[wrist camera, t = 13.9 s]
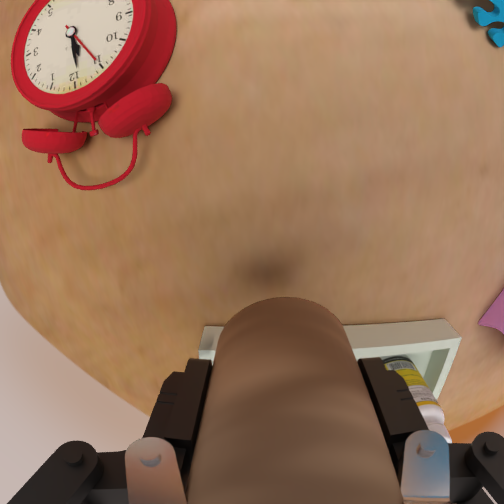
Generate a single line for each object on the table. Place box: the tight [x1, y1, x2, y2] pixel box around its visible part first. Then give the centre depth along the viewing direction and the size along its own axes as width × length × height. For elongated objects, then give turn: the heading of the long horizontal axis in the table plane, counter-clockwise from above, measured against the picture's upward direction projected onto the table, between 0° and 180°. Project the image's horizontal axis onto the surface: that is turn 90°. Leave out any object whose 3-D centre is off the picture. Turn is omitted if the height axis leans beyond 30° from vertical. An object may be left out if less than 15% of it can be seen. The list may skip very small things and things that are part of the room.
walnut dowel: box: [185, 297, 404, 504], centre depth 8 cm, size 5×5×8 cm
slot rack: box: [199, 319, 462, 400], centre depth 21 cm, size 18×9×3 cm, turn 90°
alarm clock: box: [11, 0, 176, 190], centre depth 14 cm, size 10×6×15 cm
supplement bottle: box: [380, 354, 452, 443], centre depth 18 cm, size 5×5×8 cm
